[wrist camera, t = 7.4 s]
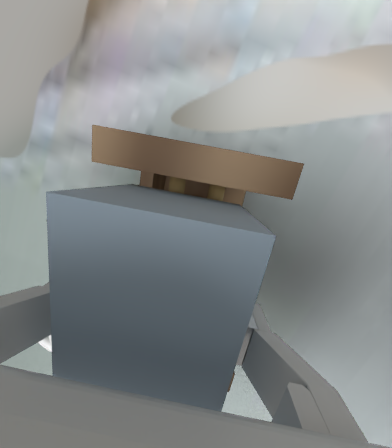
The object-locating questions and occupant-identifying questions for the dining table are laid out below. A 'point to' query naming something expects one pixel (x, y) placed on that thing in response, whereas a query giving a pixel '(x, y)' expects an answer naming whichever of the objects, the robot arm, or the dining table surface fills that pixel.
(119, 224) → the light blue block
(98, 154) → the stand
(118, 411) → the robot arm
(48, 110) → the dining table surface
